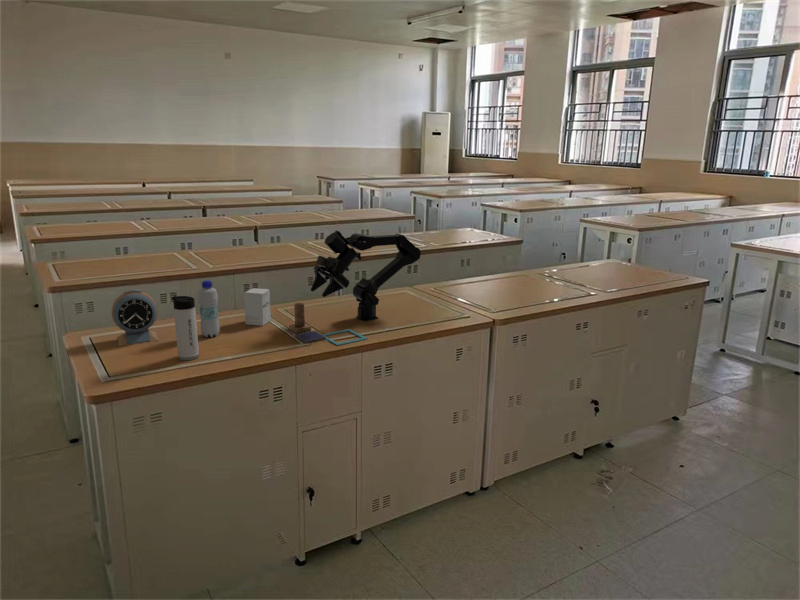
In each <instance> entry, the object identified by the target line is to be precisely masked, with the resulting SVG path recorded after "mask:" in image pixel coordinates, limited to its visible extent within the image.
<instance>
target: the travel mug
mask: <svg viewBox="0 0 800 600" xmlns="http://www.w3.org/2000/svg"><path fill="white" fill-rule="evenodd" d="M171 300H172V302H173V312H174V315H173V316H174V324H175V338H176V347H177V358H178V359H179V360H180V361H183V362H184V361H185V362H186V361H187V362H188V361H193V360H196V359H198V358H199V356H200V352H199V351H200V349H199V340H198V338H199V337H198V328H197V315H196V313H197V312H196V303H195V298H194V297H192V296H187V295H178V296H177V295H173V296H172V297H171Z"/></svg>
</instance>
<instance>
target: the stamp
mask: <svg viewBox="0 0 800 600" xmlns="http://www.w3.org/2000/svg"><path fill="white" fill-rule="evenodd" d="M293 308H294V323H293V324H289V325H288V330H289V331H291V332H293V333H294V334H295V335H297V334H302V333H307V332H312V325H309V324H307V323H306V322H305V321H306V320H305V303H303V302H297V303H294V307H293Z"/></svg>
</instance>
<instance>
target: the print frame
mask: <svg viewBox="0 0 800 600" xmlns="http://www.w3.org/2000/svg"><path fill="white" fill-rule="evenodd" d="M346 332H348V333H350V334H352V335H354V336H356V337H358V338H355V339H352V340H346V341H343V342H342V341H341V342H337V341H335V340H334V339H332V338H330V337H328V336H332V335H333V336H334V335H336V334H342V333H346ZM321 335H323V336H325V337H326V338H325V339H324V340H326V341H328V342H329V343H331V344H333V345H335V346H337V347H338V346H343V345H347V344H348V345H349V344H352V343H357V342H361V341H365V340H366V341H367V340H368V337H366V336H364V335H362V334H360V333H358V332H356V331H354V330H352V329H350V328H347V329H343V330H337V331H332V332H328V333H327V332H326V333H323V334H321Z"/></svg>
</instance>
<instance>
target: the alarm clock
mask: <svg viewBox="0 0 800 600" xmlns="http://www.w3.org/2000/svg"><path fill="white" fill-rule="evenodd" d="M158 310H159V309H158V306H157V303H156V301H155V299H154V298H153V297H152V296H150V295H149V294H148V293H146V292H143V291H142V289H140V288H139V289H136V288H132V289H127V290H124V291H123V293H122V294H119V296H118V297H117V298H116V299H115V300H114V301H113V303H112V306H111V318H112V321H113V322H114V324H115V325H116V326H117V327H118V328H119V329H120V330H123V331H124V332H125V333H122V334H120V335H118V336H117V342H118V347H122V346H128V345H129V346H131V345H138V344H137V343H139V344H144V343H143V342H146V343H152V342H151V341H154V342H159V338H158V335H157V332H156V331H153V330H149V329H150V328H151V327H152V326H154V323H155V322H156V320H157V319H158V316H159V314H158V312H159V311H158Z"/></svg>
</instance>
